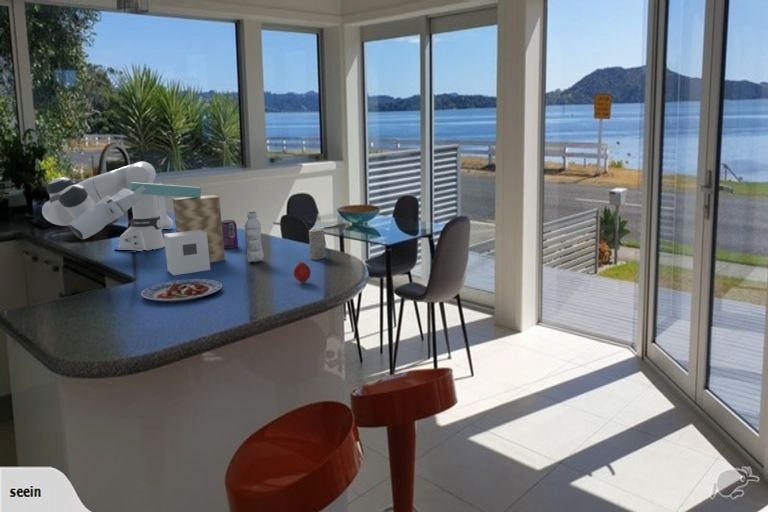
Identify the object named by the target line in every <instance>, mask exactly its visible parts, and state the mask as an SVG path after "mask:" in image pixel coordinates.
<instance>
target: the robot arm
mask: <svg viewBox="0 0 768 512" xmlns="http://www.w3.org/2000/svg"><path fill="white" fill-rule="evenodd" d="M156 176H157V173H156V169H155V167H154V166H153V165H152V164H151V163H149V162H148V161H147V162H146V161H137V162H135V163H132V164H128V165H126V166H122V167H120V168H116V169H114V170H110V171H107V172H105V173H102V174H98V175H94V176H91V177H89V178H86V179H84V180H82V181H80V182H77V181H76V180H73V179H71V178H70V177H56V178H54V179H52V180H51V181H49V182H48V183H47V184H46V187H45V188H46V191H47V194H48V195H49V200H47V201H46V202H44V204H43V205H42V208H41V213H42V216H43V218H44V219H45V220H46V221H48V222H50V223H51V224H54V225H56V226H61V227H63V226H66V227H69V229H70V230H71V232H72V233H73V234H74V235H75V236H76V237H77V238H79V239H81V240H85V239H87V238H89V237H92V236H93V235H95V234H97V233H98V232H100V231H102V230H103V229H104V228H105V227H106V226H107V225H108V224H111V223H113V222H115V221H116V220H117V219H119V218H121V217H122V216H124V215H125V213H126V212H127V211H128V210H130V209H131V211H132V216H133V218H131V219H130V220H128V224H130V226H129V228H127V229H126V230H125V231H124V232H123V233H122V234H121V235H120V236H119V239H118V242H119V243H118V244H119V245H118V246H119V248H121V249H127V250H138V251H141V252H143V251H142V250H146V251H151V250H152V249H153V250H159V249H163V248H165V241H164V235H163V232H162V230H161V220H160V216H159V202H158V197H157V195H149V194H140V193H141V192H142V191H144V190H145V187H144V186H142V185H141V186H140V187H138V189H136V190H134V191H130V186H131V182H136V183H149V184H155V183H154V181H155V179H156Z"/></svg>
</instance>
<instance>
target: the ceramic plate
mask: <svg viewBox="0 0 768 512" xmlns="http://www.w3.org/2000/svg"><path fill="white" fill-rule="evenodd" d="M222 288H223V284H222V283H221V282H220V281H217V280H215V279H214V280H213V279H206V278H205V279H204V278H203V279H202V278H201V279H200V278H191V279H189V278H188V279H180V280H171V281H167V282H162V283H161V282H160V283H158V284H155V285H152V286H149V287H147V288H146V289H143V290H142V291H141V297H142V298H145V299H147V300H152V301H161V302H167V303H168V302H169V303H173V302H176V303H177V302H185V301H186V302H187V301H192V300H196V299H201V298H203V297H206V296H208V295H212V294H214V293H216V292H218V291H220V290H221V289H222Z"/></svg>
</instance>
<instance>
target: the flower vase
mask: <svg viewBox="0 0 768 512" xmlns="http://www.w3.org/2000/svg"><path fill="white" fill-rule="evenodd" d="M158 184H163V185H173V183H172V182H171V181H170V182H168V183H162V182H159V183H158ZM156 197H157V202H158V212H159V216H160V220H161V229H169V230H171V229H170V228H172V227H173V225H174V221H173V219H172V218H171V217H170V216H169V215H168V213H167V210H166V203H165V199H168V198H169V196H164V195H156Z"/></svg>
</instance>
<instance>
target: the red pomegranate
mask: <svg viewBox="0 0 768 512" xmlns="http://www.w3.org/2000/svg"><path fill="white" fill-rule="evenodd" d="M293 276H294V278H295V279H296V280H297V281H298V282H299V283H300V284H305V283H306V282H307V281H308V280H309V279H310V277H311V269H310V267H309V265H307V264H306V263H304V261H302V260H299V263H298V264H296V265H295V267H294V269H293Z"/></svg>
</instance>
